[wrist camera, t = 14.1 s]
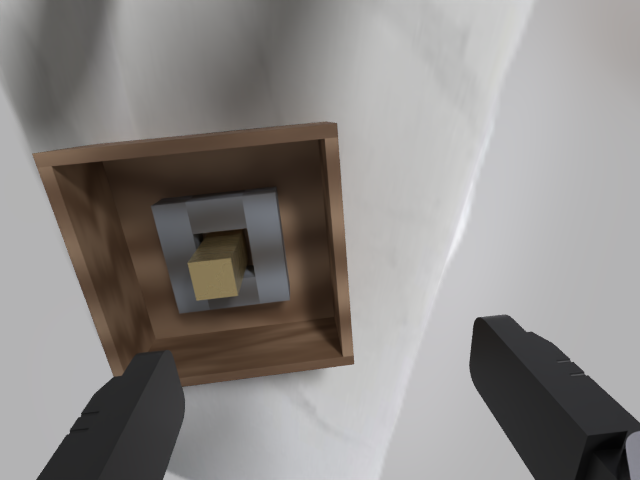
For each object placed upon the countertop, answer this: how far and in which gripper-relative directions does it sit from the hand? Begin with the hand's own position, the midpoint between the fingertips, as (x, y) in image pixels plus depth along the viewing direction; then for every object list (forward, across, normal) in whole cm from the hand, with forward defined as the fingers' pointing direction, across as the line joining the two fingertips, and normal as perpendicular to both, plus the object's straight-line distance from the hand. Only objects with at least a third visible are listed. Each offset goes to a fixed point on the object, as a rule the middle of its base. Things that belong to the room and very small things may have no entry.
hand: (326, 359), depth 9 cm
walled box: (+27, +8, +7) cm, 29 cm away
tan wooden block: (+26, +8, +7) cm, 28 cm away
